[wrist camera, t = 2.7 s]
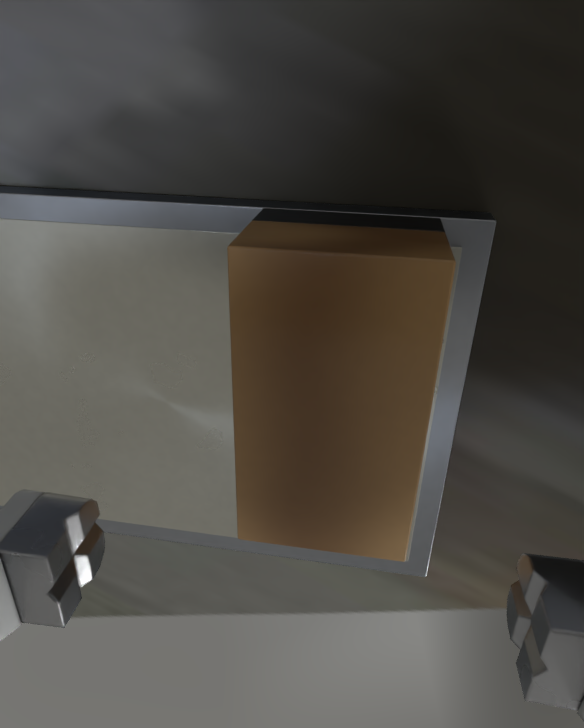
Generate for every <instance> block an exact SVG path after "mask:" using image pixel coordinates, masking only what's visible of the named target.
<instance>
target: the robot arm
mask: <svg viewBox="0 0 584 728" xmlns="http://www.w3.org/2000/svg"><path fill="white" fill-rule="evenodd" d="M99 515H100V511H99V507H98V503H97V501H95V500H93V499H89V498H82V497H76V496H69V495H62V494H56V493H49V492H39V491H33V490H27V489H23V490H21V491H18V492H16V493H15V494H14V495H13V496H12V497H11V498H10V499H9V501H8V502H7V503H6V504H5V505H4V506H3V507H2V508H1V509H0V641H1V640H3V639H4V638H5V637H7V636H8V635H9V634H11V633H12V632H13V631H15V630H16V629H17V628H19V627H20V626H21V622H22V623H30V624H37V625H45V626H53V627H61V628H65V626H66V624H67V622H68V621H69V619H70V617H71V616H72V614H73V612H74V611H75V609H76V607H77V606H78V604H79V602H80V600H81V599H82V596H81V590H80V587H81V586H83V585H84V584H86V583H87V582H89V581H91V580H92V579H93V578H94V576H95V575H96V573H97V571H98V569H99V567H100V565H101V561H102V558H103V555H104V550H105V538H104V532H103V530H102V529H101V528H100V527H99V526H98V525H97V524H96V523H95V521H96V520H97V518H98V517H99ZM516 569H517V573H518V577H519V580H518V581H517V582H515V583H514V584H512V585H511V587H510V591H509V595H508V599H507V622H508V629H509V633H510V639H511V640H512V641H513V643H514V644H515V645H516V646H517V647H518V648H519V649H520V653H519V656H518V659H517V662H516V665H517V669H518V673H519V678H520V682H521V686H522V691H523V694H524V699H525V701H529V702H535V703H540V704H545V705H550V706H556V707H561V708H567V709H572V710H577V711H578V715H579V716H580V717H581V718H582V720H583V721H584V560H578V559H569V558H561V557H552V556H544V555H535V554H527V553H523V554H522V555H521V557H520V558H519V561H518V564H517V567H516Z"/></svg>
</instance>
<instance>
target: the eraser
mask: <svg viewBox="0 0 584 728" xmlns="http://www.w3.org/2000/svg"><path fill="white" fill-rule="evenodd" d="M227 257H228V285H229V313H230V340H231V368H232V396H233V424H234V451H235V479H236V507H237V534H238V539H240V540H248V541H255V542H262V543H269V544H277V545H284V546H291V547H299V548H306V549H313V550H320V551H328V552H335V553H342V554H350V555H357V556H364V557H371V558H379V559H386V560H393V561H401V562H405V560H406V556H407V550H408V544H409V538H410V532H411V526H412V520H413V515H414V509H415V503H416V497H417V491H418V485H419V479H420V473H421V467H422V461H423V456H424V450H425V444H426V438H427V432H428V426H429V420H430V414H431V408H432V402H433V396H434V391H435V385H436V379H437V373H438V367H439V361H440V355H441V349H442V343H443V337H444V331H445V326H446V320H447V314H448V308H449V302H450V296H451V290H452V284H453V278H454V272H455V267H456V261H455V258H454V255H453V252H452V250H451V247H450V244H449V241H448V239H447V236H446V233H445V230H444V227H443V224H442V221H441V219H440V218H431V217H413V216H395V215H378V214H360V213H342V212H325V211H307V210H289V209H271V208H263V209H262V210H261V211H260V212H259V213H258V214H257V216H256V217H255V218H254V219H253V220H252V221H251V222H250V223H249V224H248V225H247V226H246V227H245V228H244V229H243V230H242V231H241V233H240V234H239V235H238V236H237V237H236V238H235V239H234V240H233V241H232V242H231V243H230V244H229V245H228V247H227Z"/></svg>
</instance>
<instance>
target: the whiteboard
mask: <svg viewBox="0 0 584 728" xmlns="http://www.w3.org/2000/svg"><path fill="white" fill-rule="evenodd" d="M263 208H271V209H289V210H307V211H325V212H342V213H360V214H378V215H395V216H413V217H431V218H440V219H441V221H442V224H443V227H444V230H445V233H446V236H447V239H448V241H449V244H450V247H451V250H452V252H453V255H454V258H455V261H456V267H455V272H454V278H453V284H452V290H451V296H450V302H449V308H448V314H447V320H446V326H445V331H444V337H443V343H442V349H441V355H440V361H439V367H438V373H437V379H436V385H435V391H434V396H433V402H432V408H431V414H430V420H429V426H428V432H427V438H426V444H425V450H424V456H423V461H422V467H421V473H420V479H419V485H418V491H417V497H416V503H415V509H414V515H413V520H412V526H411V532H410V538H409V544H408V550H407V556H406V560H405V562H401V561H393V560H386V559H379V558H371V557H364V556H357V555H350V554H342V553H335V552H328V551H320V550H313V549H306V548H299V547H291V546H284V545H277V544H269V543H262V542H255V541H248V540H240V539H238V534H237V507H236V479H235V451H234V424H233V396H232V368H231V340H230V313H229V285H228V257H227V247H228V245H229V244H230V243H231V242H232V241H233V240H234V239H235V238H236V237H237V236H238V235H239V234H240V233H241V231H242V230H243V229H244V228H245V227H246V226H247V225H248V224H249V223H250V222H251V221H252V220H253V219H254V218H255V217H256V216H257V214H258V213H259V212H260V211H261V210H262V209H263ZM496 222H497V221H496V219H495V218H494V217H493V215H492V214H491V213H488V212H470V211H452V210H433V209H415V208H397V207H378V206H360V205H342V204H324V203H305V202H287V201H269V200H250V199H232V198H214V197H195V196H177V195H159V194H141V193H122V192H104V191H86V190H67V189H49V188H31V187H12V186H0V509H1V508H2V507H3V506H4V505H5V504H6V503H7V502H8V501H9V499H10V498H11V497H12V496H13V495H14V494H15V493H16V492H18V491H21V490H23V489H27V490H33V491H39V492H49V493H56V494H62V495H69V496H76V497H82V498H89V499H93V500H95V501H97V503H98V507H99V511H100V515H99V517H98V518H97V520H96V521H95V523H96V524H97V525H98V526H99V527H100V528H101V529H102V530H103V532H108V533H115V534H122V535H129V536H136V537H143V538H150V539H158V540H165V541H172V542H179V543H186V544H193V545H200V546H208V547H215V548H222V549H229V550H236V551H243V552H250V553H258V554H265V555H272V556H279V557H286V558H293V559H300V560H308V561H315V562H322V563H329V564H336V565H343V566H350V567H358V568H365V569H372V570H379V571H386V572H393V573H401V574H408V575H415V576H422V577H426V575H427V570H428V565H429V560H430V555H431V550H432V545H433V540H434V535H435V530H436V525H437V520H438V515H439V510H440V505H441V500H442V495H443V489H444V484H445V479H446V474H447V469H448V464H449V459H450V454H451V449H452V444H453V439H454V434H455V429H456V424H457V419H458V414H459V409H460V404H461V399H462V394H463V389H464V384H465V379H466V374H467V368H468V363H469V358H470V353H471V348H472V343H473V338H474V333H475V328H476V323H477V318H478V313H479V308H480V303H481V298H482V293H483V288H484V283H485V278H486V273H487V268H488V263H489V258H490V253H491V248H492V242H493V237H494V232H495V227H496Z"/></svg>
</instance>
